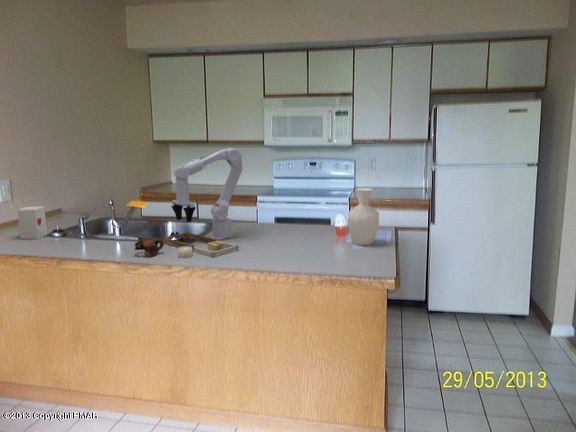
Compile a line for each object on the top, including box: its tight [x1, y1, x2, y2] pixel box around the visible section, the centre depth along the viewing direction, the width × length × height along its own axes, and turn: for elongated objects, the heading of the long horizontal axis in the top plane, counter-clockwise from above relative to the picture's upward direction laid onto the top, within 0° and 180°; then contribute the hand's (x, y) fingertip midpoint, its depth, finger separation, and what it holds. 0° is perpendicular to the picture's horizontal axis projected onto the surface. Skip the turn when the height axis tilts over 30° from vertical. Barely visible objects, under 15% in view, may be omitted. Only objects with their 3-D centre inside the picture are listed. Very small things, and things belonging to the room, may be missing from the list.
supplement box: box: [16, 205, 48, 240], centre depth 227 cm, size 9×9×15 cm
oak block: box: [207, 240, 227, 252], centre depth 199 cm, size 6×6×4 cm
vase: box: [347, 187, 380, 246], centre depth 207 cm, size 14×14×25 cm
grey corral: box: [194, 241, 239, 258], centre depth 199 cm, size 14×12×2 cm
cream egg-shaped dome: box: [177, 246, 194, 259], centre depth 193 cm, size 6×6×4 cm
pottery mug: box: [134, 237, 165, 259], centre depth 196 cm, size 12×9×8 cm
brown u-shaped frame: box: [161, 231, 218, 252], centre depth 212 cm, size 14×23×2 cm, turn 49°
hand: (184, 220), depth 215 cm, fingers open, 7 cm apart
